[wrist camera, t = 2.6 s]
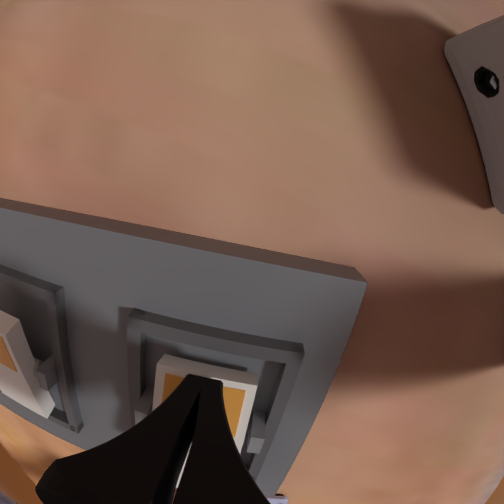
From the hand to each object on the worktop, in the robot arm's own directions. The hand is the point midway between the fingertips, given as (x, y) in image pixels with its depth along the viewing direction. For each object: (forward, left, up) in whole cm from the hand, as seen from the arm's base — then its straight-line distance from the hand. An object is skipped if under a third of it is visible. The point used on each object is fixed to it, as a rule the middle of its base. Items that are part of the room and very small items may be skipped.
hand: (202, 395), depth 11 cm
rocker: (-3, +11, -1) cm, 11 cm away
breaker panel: (-3, +5, -4) cm, 7 cm away
